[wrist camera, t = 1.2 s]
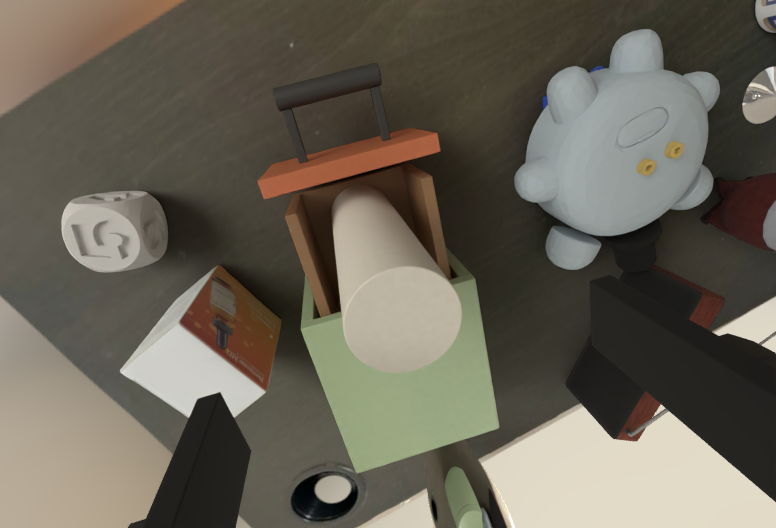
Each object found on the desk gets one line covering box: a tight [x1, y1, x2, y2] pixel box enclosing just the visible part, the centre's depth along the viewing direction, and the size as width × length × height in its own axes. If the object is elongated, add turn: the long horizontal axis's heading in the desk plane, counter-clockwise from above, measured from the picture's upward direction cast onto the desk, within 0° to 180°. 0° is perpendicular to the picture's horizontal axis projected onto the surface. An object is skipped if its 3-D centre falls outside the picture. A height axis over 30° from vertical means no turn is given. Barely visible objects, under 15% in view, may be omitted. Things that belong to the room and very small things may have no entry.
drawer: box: [258, 63, 452, 317], centre depth 29 cm, size 18×12×8 cm, turn 14°
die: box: [62, 191, 168, 272], centre depth 29 cm, size 5×5×5 cm
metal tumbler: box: [420, 439, 515, 528], centre depth 39 cm, size 7×7×15 cm
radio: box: [566, 265, 776, 441], centre depth 37 cm, size 19×3×15 cm, turn 163°
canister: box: [331, 185, 462, 373], centre depth 24 cm, size 5×5×18 cm
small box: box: [120, 265, 282, 418], centre depth 31 cm, size 8×6×10 cm
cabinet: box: [301, 246, 499, 473], centre depth 35 cm, size 15×13×10 cm
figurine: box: [514, 29, 720, 272], centre depth 33 cm, size 17×8×20 cm
